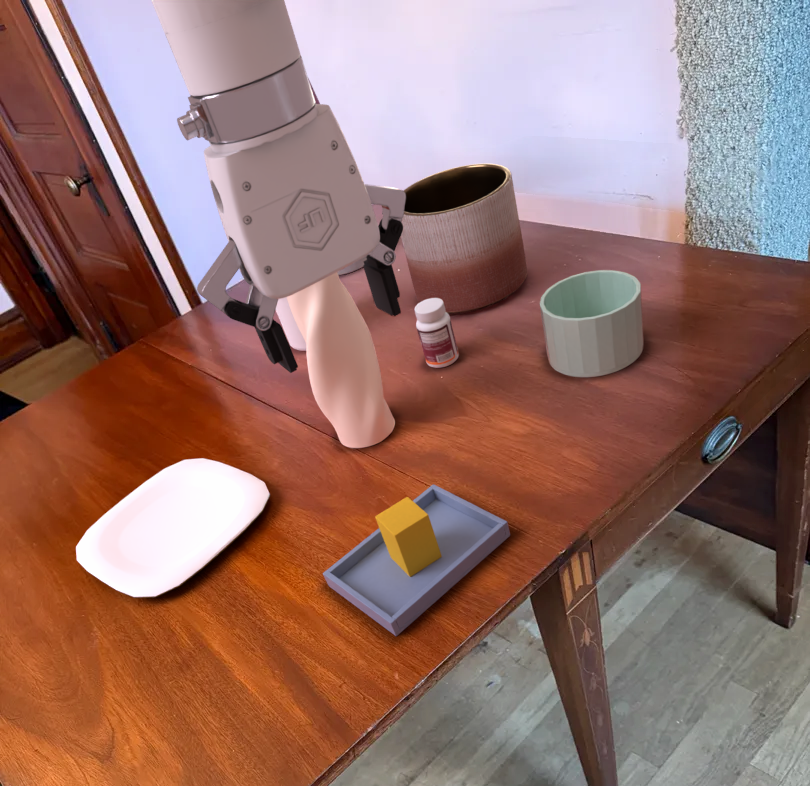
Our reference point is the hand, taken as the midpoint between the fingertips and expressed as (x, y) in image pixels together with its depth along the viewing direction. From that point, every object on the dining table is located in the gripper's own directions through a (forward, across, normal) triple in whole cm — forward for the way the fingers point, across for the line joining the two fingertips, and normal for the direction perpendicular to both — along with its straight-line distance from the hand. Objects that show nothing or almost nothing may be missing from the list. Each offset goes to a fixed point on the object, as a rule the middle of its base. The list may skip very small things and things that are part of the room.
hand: (339, 337), depth 60 cm
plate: (+26, -19, +28) cm, 43 cm away
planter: (+26, +39, +45) cm, 65 cm away
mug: (+26, +17, +57) cm, 65 cm away
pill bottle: (+26, +24, +31) cm, 47 cm away
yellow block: (+26, 0, 0) cm, 26 cm away
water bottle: (+26, +8, +26) cm, 38 cm away
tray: (+26, 0, 0) cm, 26 cm away
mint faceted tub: (+26, +38, +15) cm, 48 cm away
